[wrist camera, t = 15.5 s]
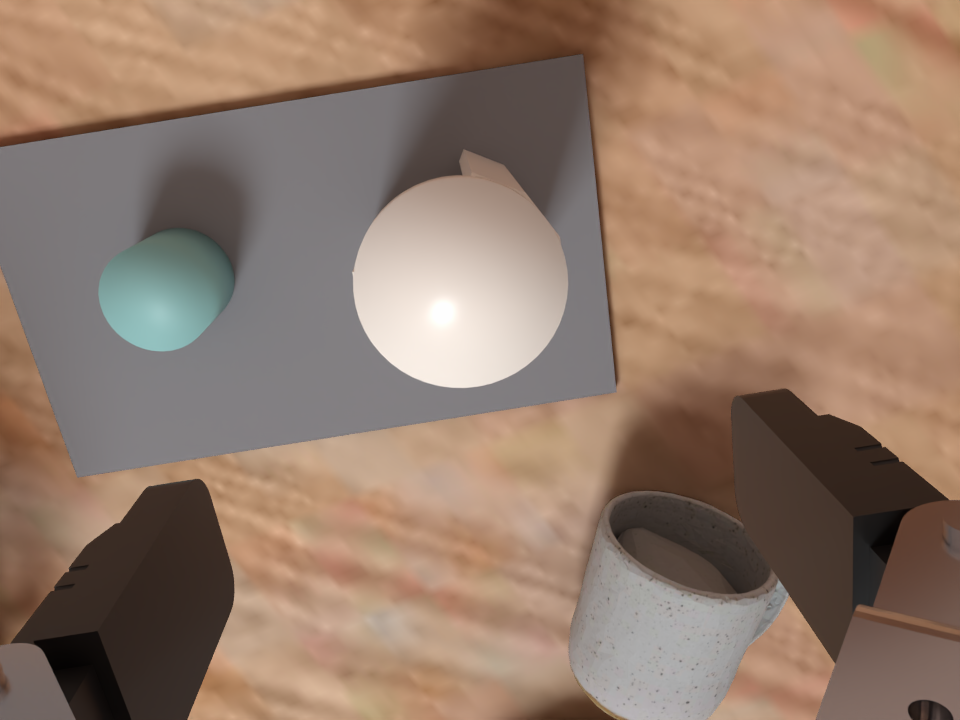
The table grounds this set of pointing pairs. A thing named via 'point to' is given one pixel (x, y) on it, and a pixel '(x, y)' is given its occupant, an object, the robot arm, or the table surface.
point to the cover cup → (461, 278)
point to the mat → (287, 261)
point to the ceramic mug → (668, 607)
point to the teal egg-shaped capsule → (166, 289)
